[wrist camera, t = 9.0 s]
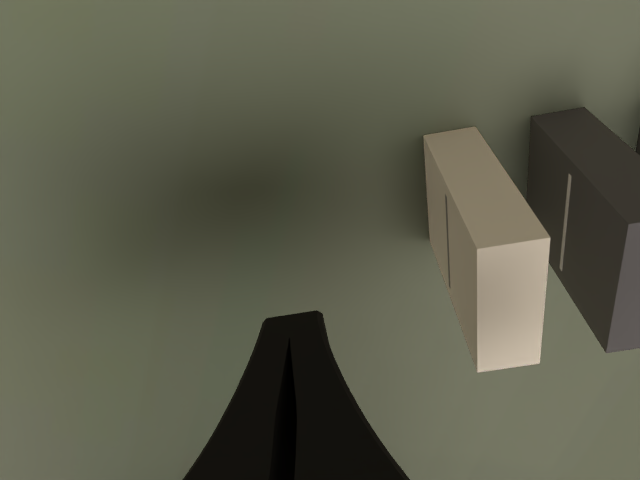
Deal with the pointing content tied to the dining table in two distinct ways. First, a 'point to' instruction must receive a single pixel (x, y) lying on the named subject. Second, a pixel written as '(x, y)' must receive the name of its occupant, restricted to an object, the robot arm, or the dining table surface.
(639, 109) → the dining table surface
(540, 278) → the domino
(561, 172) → the domino
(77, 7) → the dining table surface
